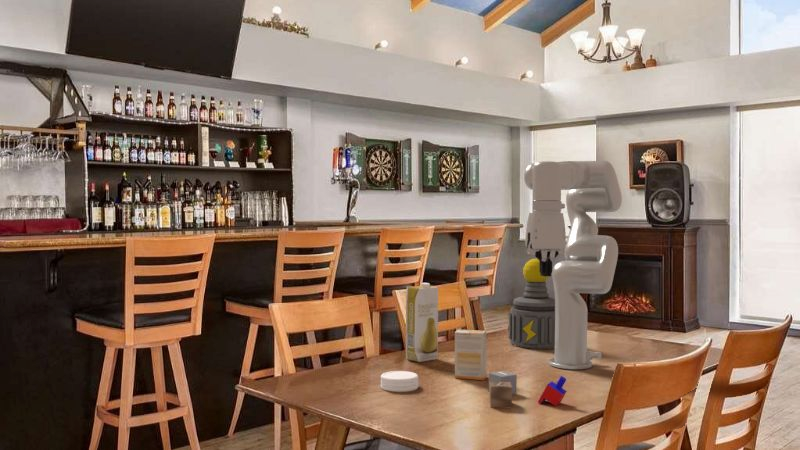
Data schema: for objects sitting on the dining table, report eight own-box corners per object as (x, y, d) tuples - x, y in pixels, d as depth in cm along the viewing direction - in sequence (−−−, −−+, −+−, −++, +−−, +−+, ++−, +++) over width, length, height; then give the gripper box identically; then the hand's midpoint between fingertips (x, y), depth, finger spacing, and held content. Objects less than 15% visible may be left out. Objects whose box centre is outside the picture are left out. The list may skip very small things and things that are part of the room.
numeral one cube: (503, 389, 183) (504, 370, 183) (516, 394, 178) (516, 374, 178) (488, 392, 180) (488, 372, 180) (500, 396, 176) (501, 376, 176)
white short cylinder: (374, 385, 187) (374, 372, 187) (408, 381, 191) (408, 369, 191) (389, 394, 178) (389, 380, 178) (424, 390, 182) (424, 377, 182)
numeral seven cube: (510, 402, 171) (510, 381, 170) (511, 408, 166) (512, 386, 166) (489, 401, 171) (489, 381, 171) (490, 407, 166) (490, 386, 166)
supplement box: (487, 377, 196) (487, 330, 196) (483, 381, 191) (483, 333, 191) (458, 374, 199) (458, 328, 198) (454, 378, 194) (454, 331, 194)
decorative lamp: (502, 346, 239) (503, 259, 239) (515, 337, 257) (516, 255, 256) (557, 351, 232) (558, 261, 231) (567, 341, 249) (568, 257, 249)
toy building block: (552, 412, 168) (568, 384, 166) (537, 402, 169) (552, 374, 167) (556, 408, 171) (572, 381, 169) (542, 398, 173) (557, 371, 171)
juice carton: (419, 363, 212) (420, 284, 212) (402, 359, 218) (402, 282, 218) (441, 359, 219) (442, 282, 218) (424, 355, 224) (424, 280, 224)
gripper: (564, 207, 194) (563, 274, 194) (514, 207, 190) (514, 275, 190) (578, 207, 186) (577, 276, 187) (527, 207, 182) (526, 277, 183)
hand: (545, 275), depth 188 cm, fingers closed
